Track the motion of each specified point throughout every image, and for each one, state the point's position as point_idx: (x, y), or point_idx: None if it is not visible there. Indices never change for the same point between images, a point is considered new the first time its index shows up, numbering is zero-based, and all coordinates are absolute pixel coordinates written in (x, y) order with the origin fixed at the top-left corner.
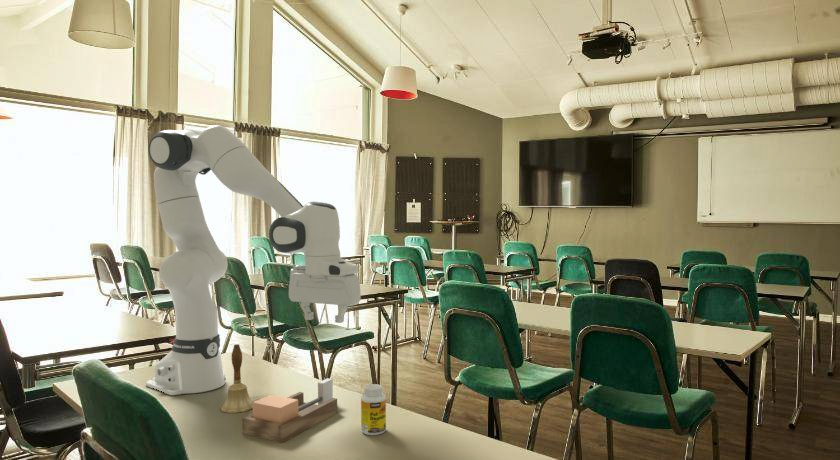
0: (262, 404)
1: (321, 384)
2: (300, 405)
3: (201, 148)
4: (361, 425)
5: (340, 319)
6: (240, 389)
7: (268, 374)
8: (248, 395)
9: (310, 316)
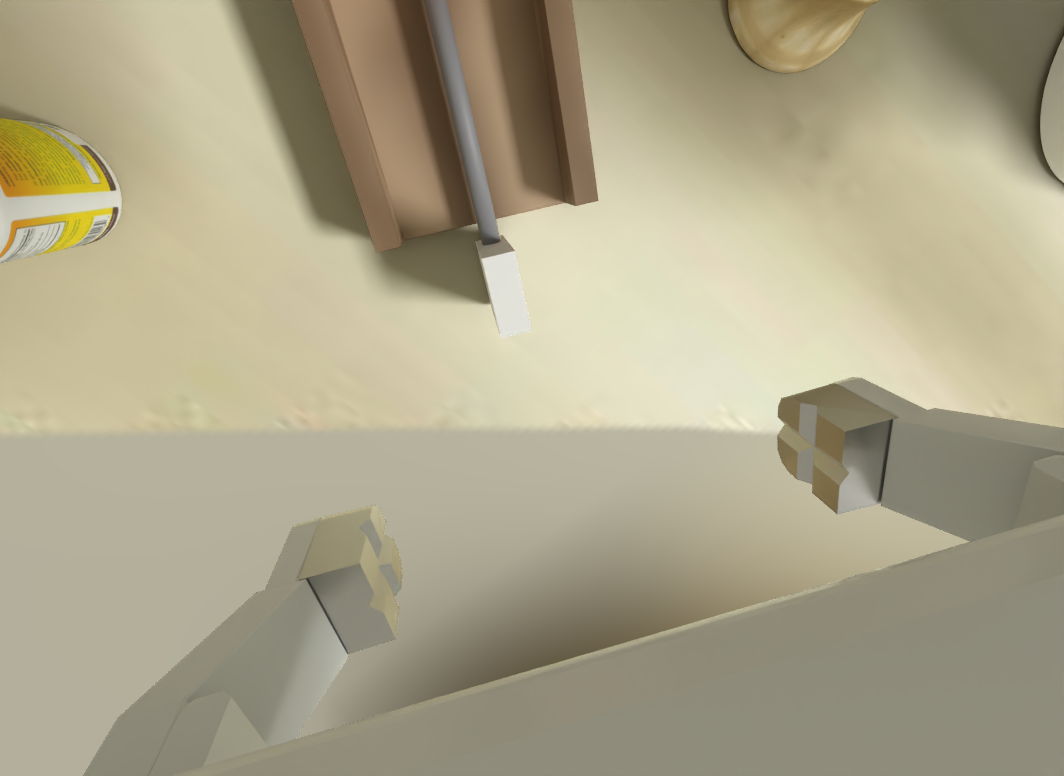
0: None
1: (490, 255)
2: (544, 163)
3: None
4: (54, 131)
5: (288, 560)
6: None
7: (944, 359)
8: (800, 12)
9: (813, 435)
